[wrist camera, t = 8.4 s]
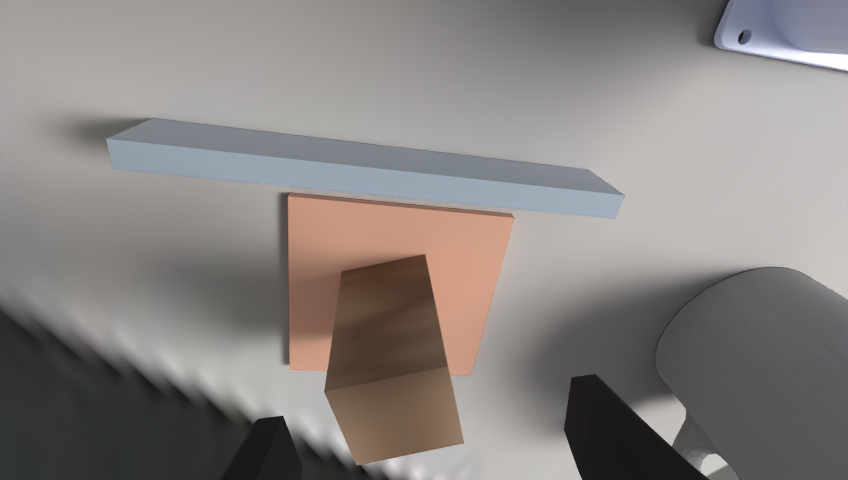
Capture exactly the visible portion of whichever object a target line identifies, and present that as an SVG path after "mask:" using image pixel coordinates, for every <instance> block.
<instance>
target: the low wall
mask: <svg viewBox="0 0 848 480" xmlns="http://www.w3.org/2000/svg"><path fill="white" fill-rule="evenodd" d="M106 141H107V146H108V150H109V155H110V160H111V164H112V169H116V170H126V171H136V172H147V173H157V174H167V175H177V176H187V177H197V178H207V179H217V180H227V181H238V182H248V183H258V184H268V185H278V186H288V187H298V188H308V189H318V190H328V191H339V192H349V193H359V194H369V195H379V196H389V197H399V198H409V199H419V200H430V201H440V202H450V203H460V204H470V205H480V206H490V207H500V208H510V209H521V210H531V211H541V212H551V213H561V214H571V215H581V216H591V217H601V218H611V219H616V216H617V214H618V211H619V209H620V206H621V204H622V201H623V199H624V196H625V195H623V194H622V193H621V192H619V191H618V190H616V189H615V188H614V187H612V186H611V185H609V184H608V183H607V182H605V181H604V180H602V179H601V178H600V177H598V176H597V175H595V174H594V173H593V172H591V171H590V170H584V169H576V168H568V167H559V166H551V165H542V164H534V163H525V162H517V161H509V160H500V159H492V158H483V157H475V156H466V155H458V154H449V153H441V152H433V151H424V150H416V149H407V148H399V147H390V146H382V145H374V144H365V143H357V142H348V141H340V140H331V139H323V138H314V137H306V136H298V135H289V134H281V133H272V132H264V131H255V130H247V129H238V128H230V127H222V126H213V125H205V124H196V123H188V122H179V121H171V120H163V119H154V118H152V119H150V120H148V121H145V122H143V123H141V124H138V125H136V126H134V127H132V128H129V129H127V130H125V131H122V132H120V133H118V134H116V135H113V136H111V137H109V138H106Z"/></svg>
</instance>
